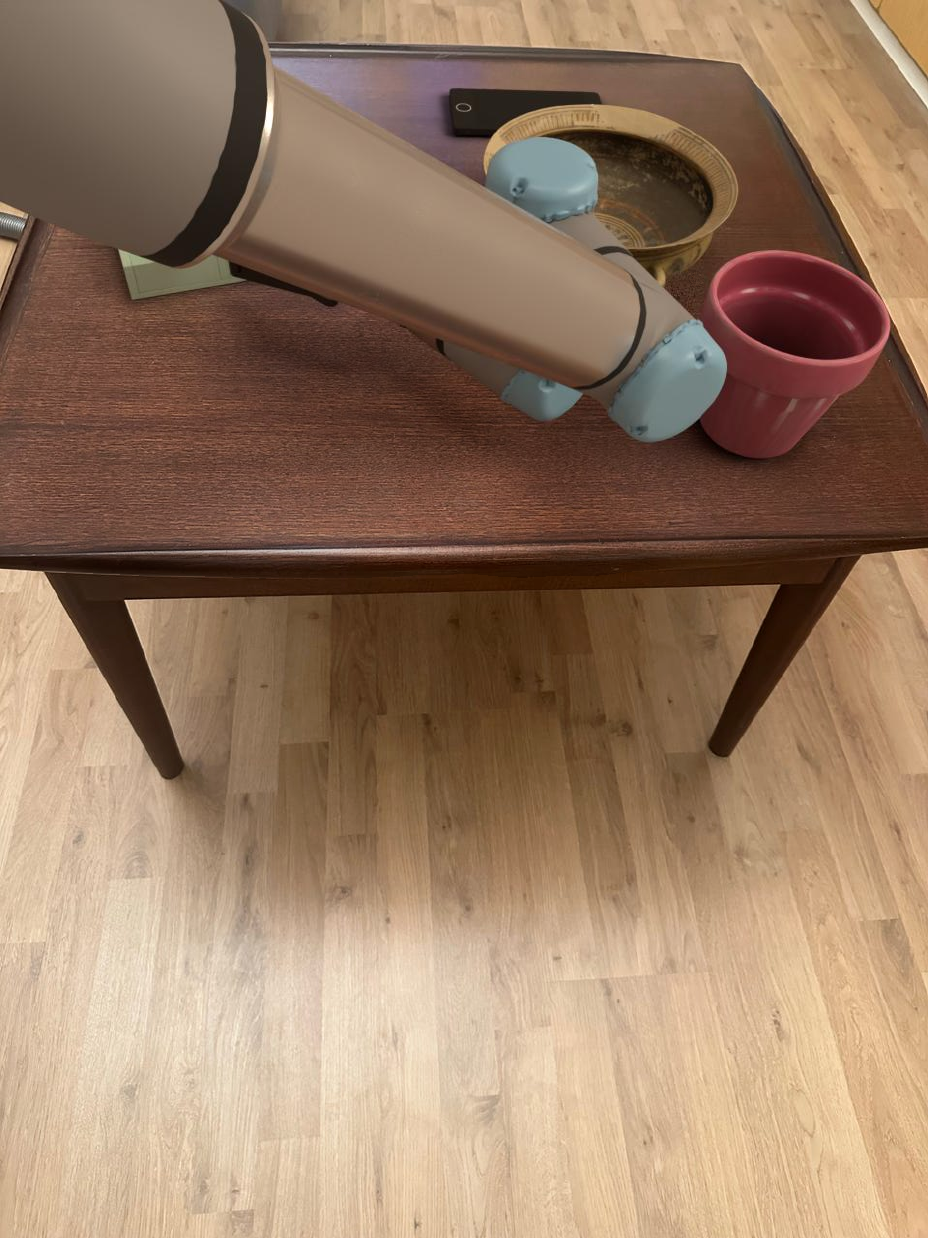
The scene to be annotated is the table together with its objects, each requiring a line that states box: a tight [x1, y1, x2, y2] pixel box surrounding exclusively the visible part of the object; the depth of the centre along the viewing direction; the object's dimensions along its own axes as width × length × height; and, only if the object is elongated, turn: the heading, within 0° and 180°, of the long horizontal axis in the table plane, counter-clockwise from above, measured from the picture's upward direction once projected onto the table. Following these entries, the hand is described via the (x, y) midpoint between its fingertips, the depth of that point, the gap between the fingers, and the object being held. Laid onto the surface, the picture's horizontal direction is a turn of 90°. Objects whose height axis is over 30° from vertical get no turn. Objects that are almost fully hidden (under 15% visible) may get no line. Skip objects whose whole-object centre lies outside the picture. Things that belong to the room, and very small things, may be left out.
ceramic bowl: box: [482, 104, 739, 289], centre depth 92 cm, size 30×24×10 cm
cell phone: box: [448, 87, 603, 136], centre depth 110 cm, size 9×18×1 cm, turn 94°
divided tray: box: [117, 249, 249, 301], centre depth 93 cm, size 18×18×4 cm
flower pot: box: [698, 249, 891, 459], centre depth 79 cm, size 14×14×13 cm
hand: (265, 176), depth 85 cm, fingers open, 13 cm apart
